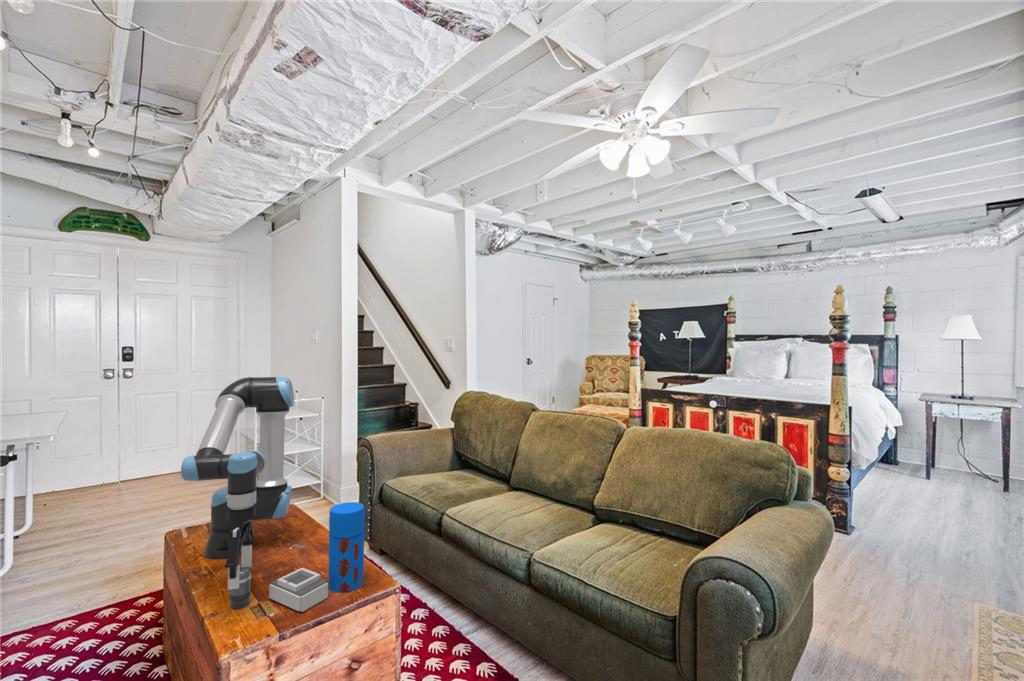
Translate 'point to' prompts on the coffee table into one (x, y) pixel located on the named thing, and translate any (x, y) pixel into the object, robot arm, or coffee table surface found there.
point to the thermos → (346, 547)
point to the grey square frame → (299, 589)
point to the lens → (241, 590)
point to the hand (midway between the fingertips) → (240, 577)
